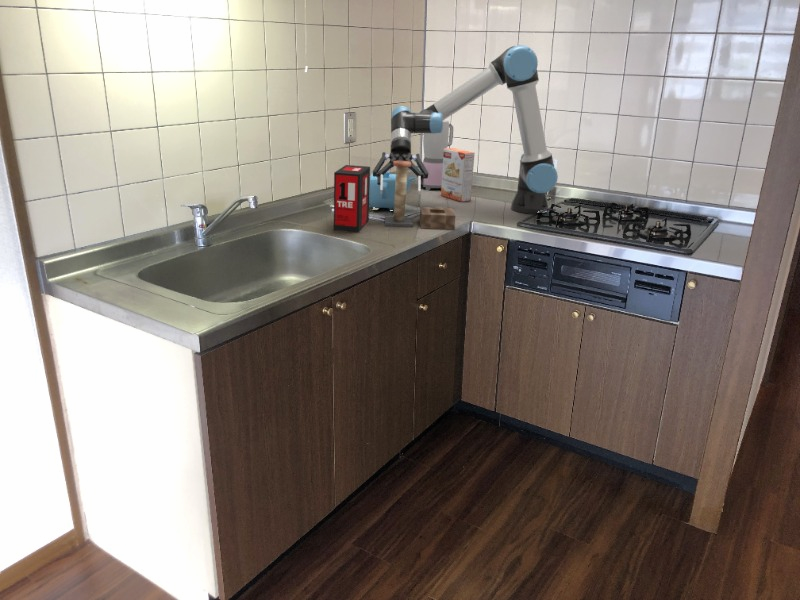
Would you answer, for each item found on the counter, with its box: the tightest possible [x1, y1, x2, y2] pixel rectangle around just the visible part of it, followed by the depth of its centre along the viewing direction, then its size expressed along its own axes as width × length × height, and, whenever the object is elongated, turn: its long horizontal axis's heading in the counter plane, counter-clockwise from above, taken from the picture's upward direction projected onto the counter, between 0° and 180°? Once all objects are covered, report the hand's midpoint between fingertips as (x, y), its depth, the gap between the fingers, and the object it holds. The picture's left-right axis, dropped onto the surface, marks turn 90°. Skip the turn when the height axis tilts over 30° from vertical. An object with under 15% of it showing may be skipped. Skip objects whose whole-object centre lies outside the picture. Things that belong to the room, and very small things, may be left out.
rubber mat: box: [384, 216, 414, 228], centre depth 240 cm, size 10×10×1 cm
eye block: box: [419, 206, 456, 230], centre depth 240 cm, size 12×12×5 cm
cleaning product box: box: [333, 164, 371, 233], centre depth 230 cm, size 16×9×20 cm, turn 171°
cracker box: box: [440, 147, 476, 203], centre depth 281 cm, size 14×6×21 cm, turn 36°
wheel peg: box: [393, 161, 411, 222], centre depth 236 cm, size 6×6×21 cm
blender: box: [422, 119, 454, 191], centre depth 299 cm, size 16×12×32 cm
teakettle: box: [369, 170, 417, 211], centre depth 259 cm, size 19×19×15 cm
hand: (400, 192), depth 234 cm, fingers open, 13 cm apart
